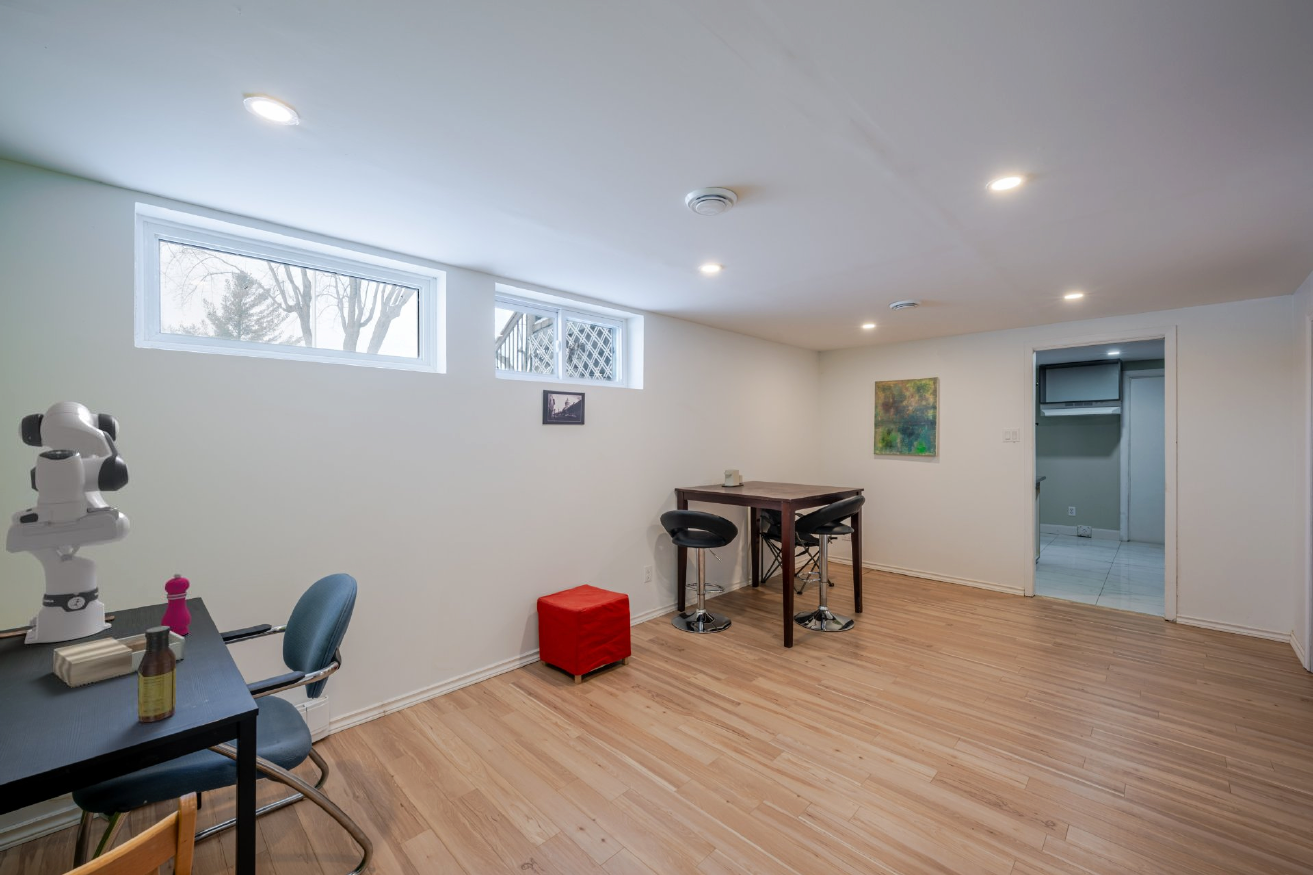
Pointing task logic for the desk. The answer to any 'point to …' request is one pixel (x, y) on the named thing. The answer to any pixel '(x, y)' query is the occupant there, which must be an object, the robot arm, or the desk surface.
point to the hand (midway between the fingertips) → (66, 561)
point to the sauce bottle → (157, 677)
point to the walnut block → (136, 644)
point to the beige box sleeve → (92, 661)
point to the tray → (174, 644)
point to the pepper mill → (177, 605)
